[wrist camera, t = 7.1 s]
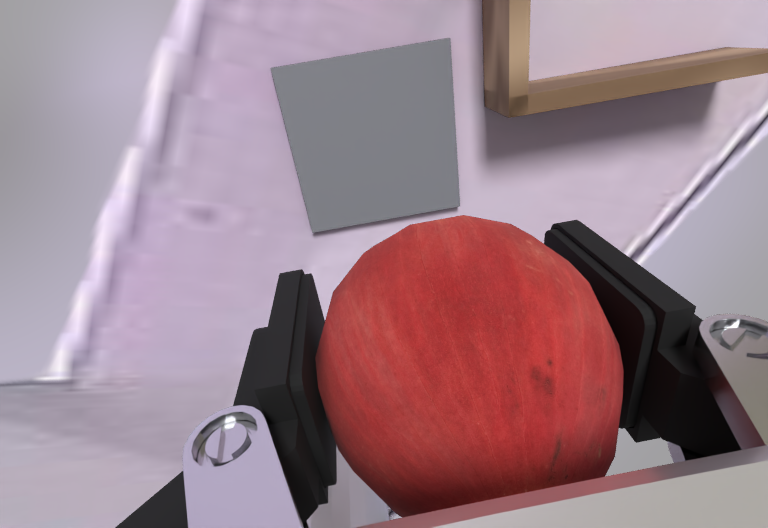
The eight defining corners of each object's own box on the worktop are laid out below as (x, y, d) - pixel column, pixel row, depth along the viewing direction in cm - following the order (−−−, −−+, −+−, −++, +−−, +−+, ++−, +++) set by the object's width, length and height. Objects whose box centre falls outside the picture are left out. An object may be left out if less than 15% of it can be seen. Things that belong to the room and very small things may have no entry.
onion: (563, 247, 12) (891, 540, 5) (437, 377, 14) (544, 722, 7) (407, 125, 10) (589, 333, 3) (282, 297, 12) (208, 677, 5)
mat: (458, 203, 28) (459, 206, 28) (312, 229, 28) (312, 232, 28) (448, 38, 23) (450, 38, 23) (271, 67, 23) (270, 68, 23)
